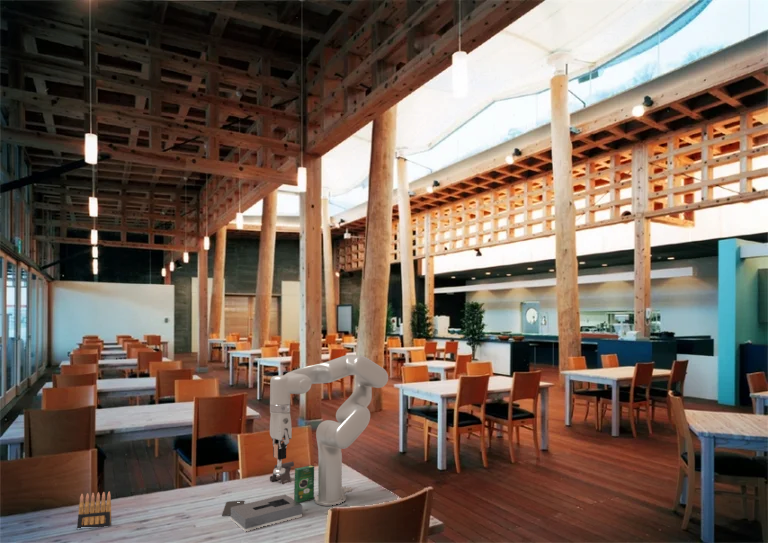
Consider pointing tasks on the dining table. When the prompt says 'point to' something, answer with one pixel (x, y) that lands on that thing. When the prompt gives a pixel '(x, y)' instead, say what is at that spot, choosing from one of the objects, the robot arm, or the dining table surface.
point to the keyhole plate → (265, 512)
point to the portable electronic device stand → (284, 476)
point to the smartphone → (228, 507)
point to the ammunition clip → (94, 511)
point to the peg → (278, 461)
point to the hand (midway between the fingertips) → (279, 457)
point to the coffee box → (304, 483)
